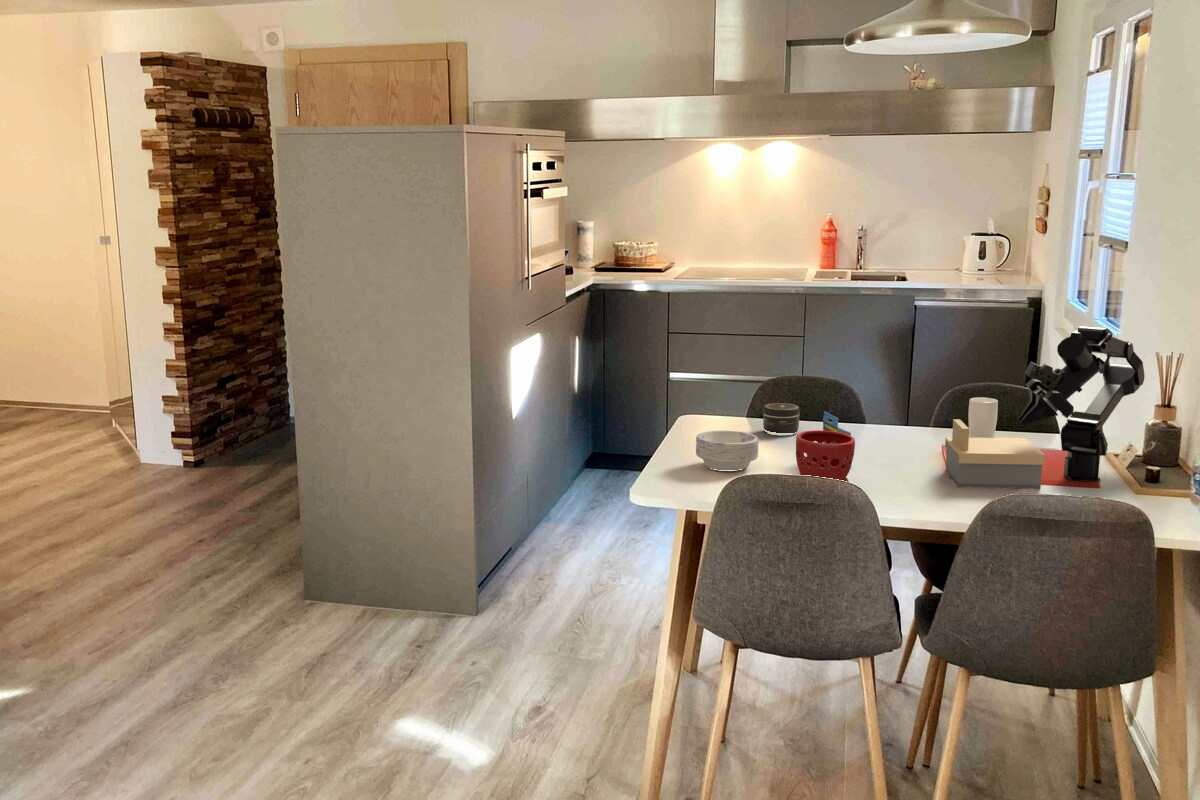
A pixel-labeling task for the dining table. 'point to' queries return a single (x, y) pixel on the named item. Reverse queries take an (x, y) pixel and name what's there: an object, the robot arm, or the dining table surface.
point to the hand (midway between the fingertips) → (1020, 422)
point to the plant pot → (825, 454)
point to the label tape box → (832, 425)
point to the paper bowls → (727, 449)
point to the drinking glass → (982, 417)
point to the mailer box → (992, 474)
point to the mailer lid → (992, 448)
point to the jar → (781, 418)
